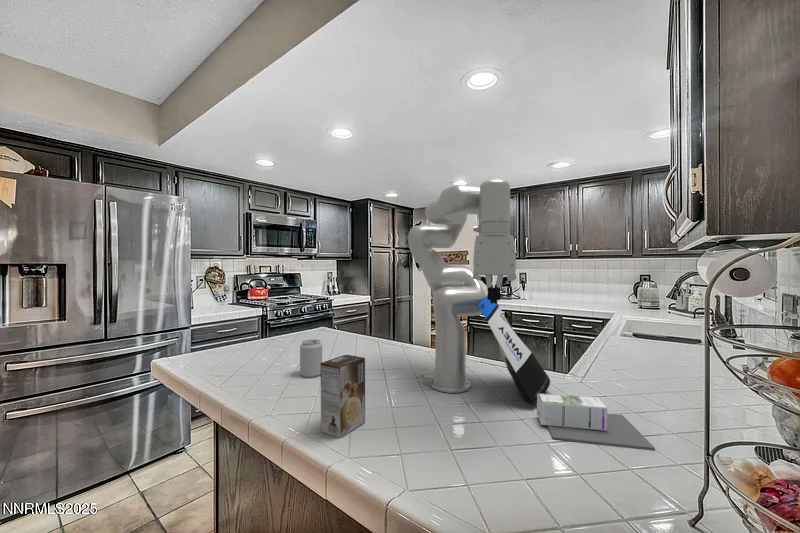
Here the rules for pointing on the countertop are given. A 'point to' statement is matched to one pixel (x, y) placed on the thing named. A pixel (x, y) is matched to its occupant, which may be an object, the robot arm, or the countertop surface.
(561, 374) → the countertop surface
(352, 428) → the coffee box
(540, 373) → the protein powder
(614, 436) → the mat
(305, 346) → the can
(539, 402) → the syrup box
